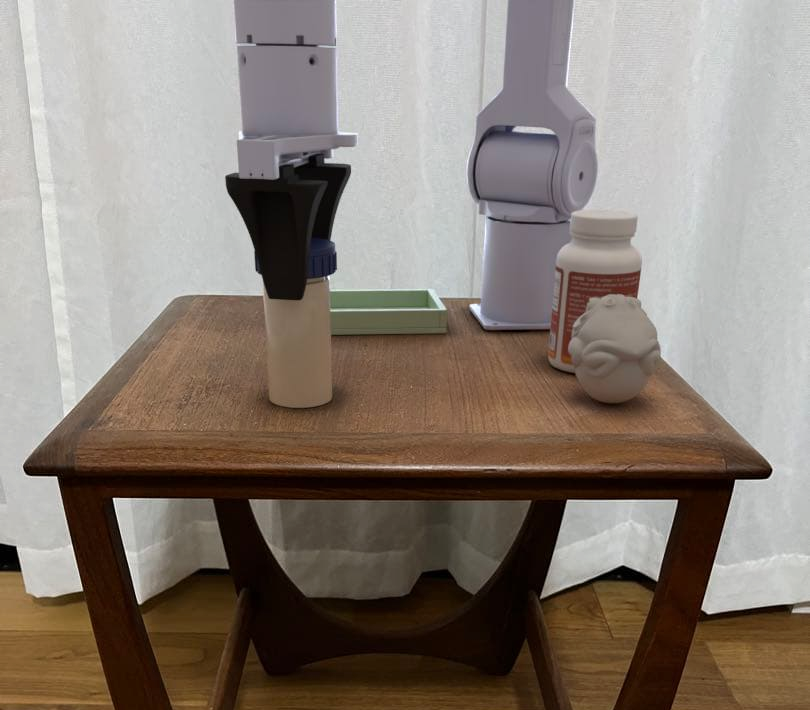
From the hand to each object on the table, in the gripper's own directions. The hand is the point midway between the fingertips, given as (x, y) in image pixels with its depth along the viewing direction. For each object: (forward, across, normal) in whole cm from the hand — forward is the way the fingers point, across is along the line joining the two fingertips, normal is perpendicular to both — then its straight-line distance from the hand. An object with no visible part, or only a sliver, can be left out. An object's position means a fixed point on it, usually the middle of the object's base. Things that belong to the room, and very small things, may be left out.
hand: (296, 289), depth 56 cm
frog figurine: (+7, +4, -21) cm, 22 cm away
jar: (+7, 0, 0) cm, 7 cm away
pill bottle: (+8, +12, -20) cm, 24 cm away
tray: (+7, +21, -1) cm, 22 cm away
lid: (-2, 0, 0) cm, 2 cm away
